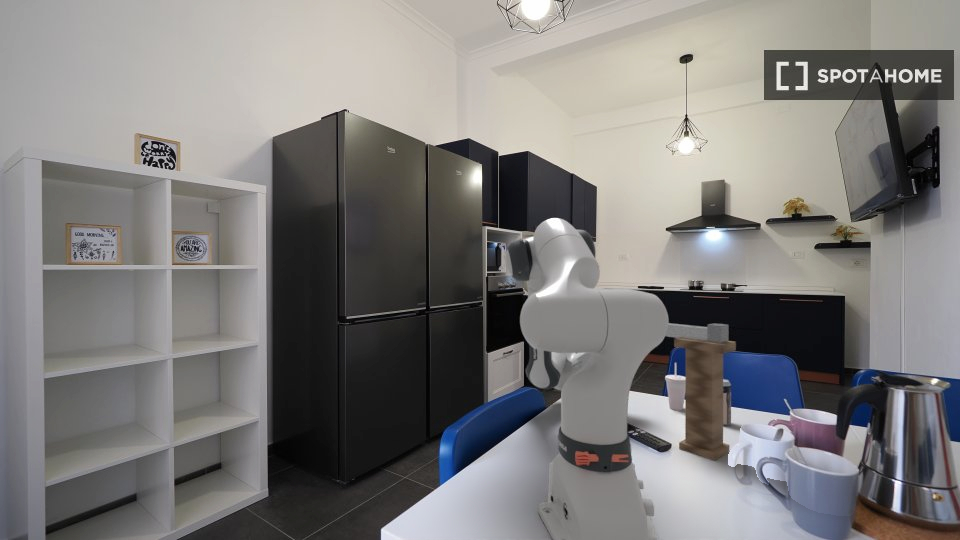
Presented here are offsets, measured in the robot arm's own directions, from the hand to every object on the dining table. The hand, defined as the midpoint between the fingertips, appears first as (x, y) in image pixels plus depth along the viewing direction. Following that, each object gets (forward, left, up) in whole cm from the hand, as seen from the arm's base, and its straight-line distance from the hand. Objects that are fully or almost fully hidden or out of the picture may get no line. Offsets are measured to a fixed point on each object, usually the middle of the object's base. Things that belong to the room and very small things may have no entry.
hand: (628, 345), depth 113 cm
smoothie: (+15, -20, -22) cm, 33 cm away
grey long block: (-12, -10, +4) cm, 16 cm away
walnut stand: (-15, -13, -22) cm, 30 cm away
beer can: (+3, -27, -22) cm, 35 cm away
